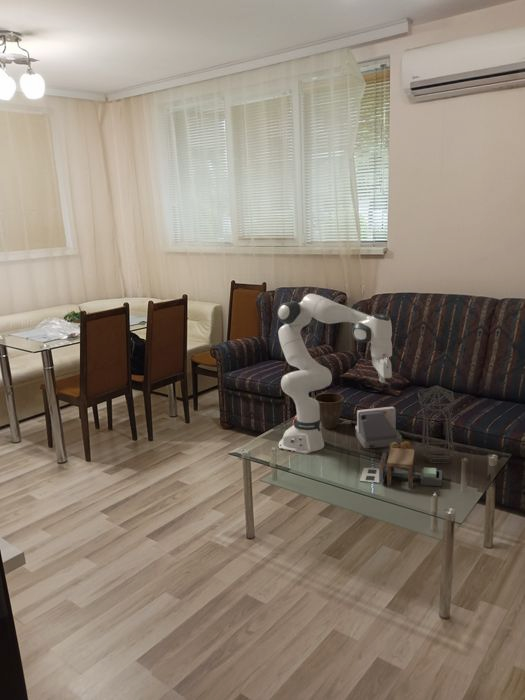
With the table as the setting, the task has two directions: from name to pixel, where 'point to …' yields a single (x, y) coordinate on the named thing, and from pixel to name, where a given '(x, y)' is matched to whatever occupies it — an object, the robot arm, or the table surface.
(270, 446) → the table surface
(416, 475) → the sled collar
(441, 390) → the geometric lantern
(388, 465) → the tunnel
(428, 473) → the block
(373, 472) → the pit board
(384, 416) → the instant camera
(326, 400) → the plant pot
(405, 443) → the lion figurine
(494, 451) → the table surface
